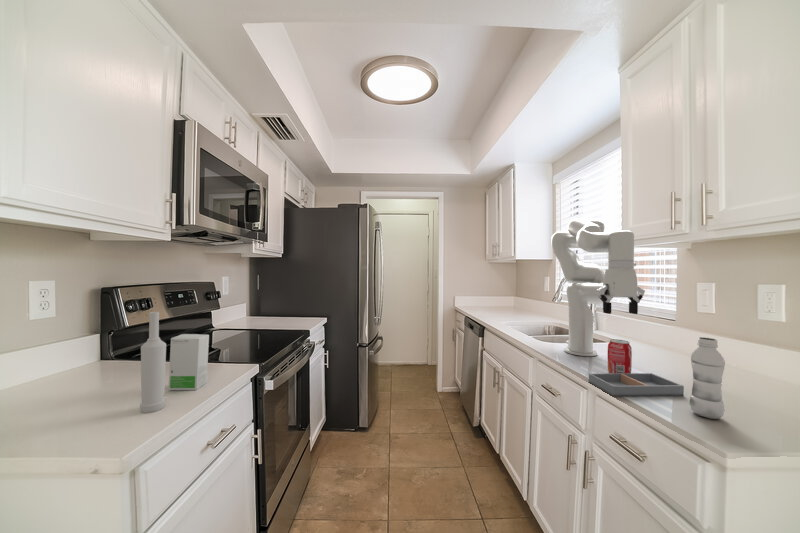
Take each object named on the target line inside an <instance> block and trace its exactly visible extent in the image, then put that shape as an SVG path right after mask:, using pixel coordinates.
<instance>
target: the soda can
mask: <svg viewBox="0 0 800 533" xmlns="http://www.w3.org/2000/svg"><path fill="white" fill-rule="evenodd" d="M632 354H633V351H632V346H631V344H630V341H628V340H624V339H618V338H617V339H616V338H613V339H612V338H611V339H610V340H609V342H608V345H607V359H606V360H607V372H608V373H632V367H633V366H632V365H633V364H632V363H633V362H632V360H633V359H632V357H633V355H632Z"/></svg>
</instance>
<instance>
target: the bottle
mask: <svg viewBox="0 0 800 533" xmlns="http://www.w3.org/2000/svg"><path fill="white" fill-rule="evenodd" d="M148 320H149V321H148V322H149V323H148V325H149V326H148V327H149V328H148V338H147V339H146V341H145V342H144V343H143V344H142V345H141V346H140V375H141V376H140V380H141V390H140V391H141V402H140V404H139V409H140V412H141V413H143V414H148V413H156V412H158V411H160V410H161V411H162V410H163V409H164V408H165V406H166V398H165V388H166V387H165V386H166V364H167V362H166V361H167V360H166V359H167V343H166V342H165V341H164V340H162V339H161V337H160V322H159V321H160V311H151V312H149V313H148Z"/></svg>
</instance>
